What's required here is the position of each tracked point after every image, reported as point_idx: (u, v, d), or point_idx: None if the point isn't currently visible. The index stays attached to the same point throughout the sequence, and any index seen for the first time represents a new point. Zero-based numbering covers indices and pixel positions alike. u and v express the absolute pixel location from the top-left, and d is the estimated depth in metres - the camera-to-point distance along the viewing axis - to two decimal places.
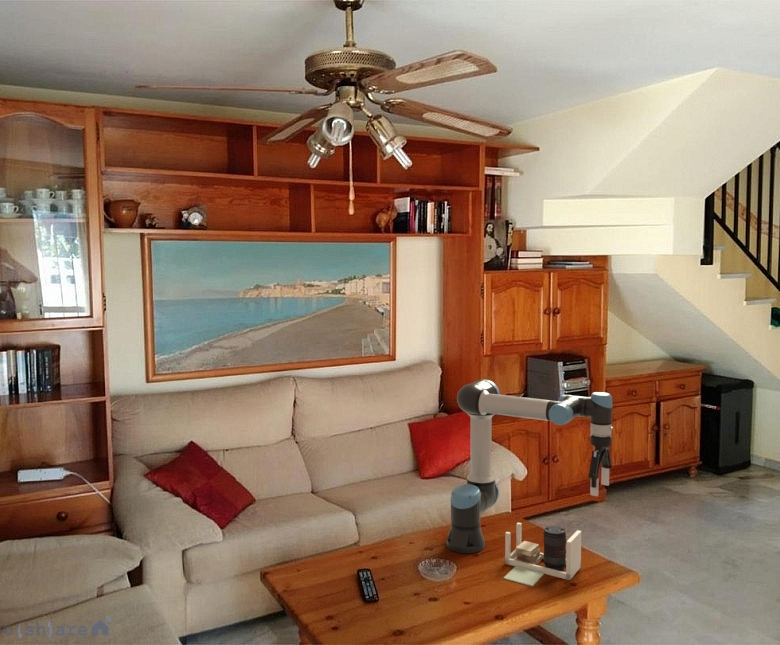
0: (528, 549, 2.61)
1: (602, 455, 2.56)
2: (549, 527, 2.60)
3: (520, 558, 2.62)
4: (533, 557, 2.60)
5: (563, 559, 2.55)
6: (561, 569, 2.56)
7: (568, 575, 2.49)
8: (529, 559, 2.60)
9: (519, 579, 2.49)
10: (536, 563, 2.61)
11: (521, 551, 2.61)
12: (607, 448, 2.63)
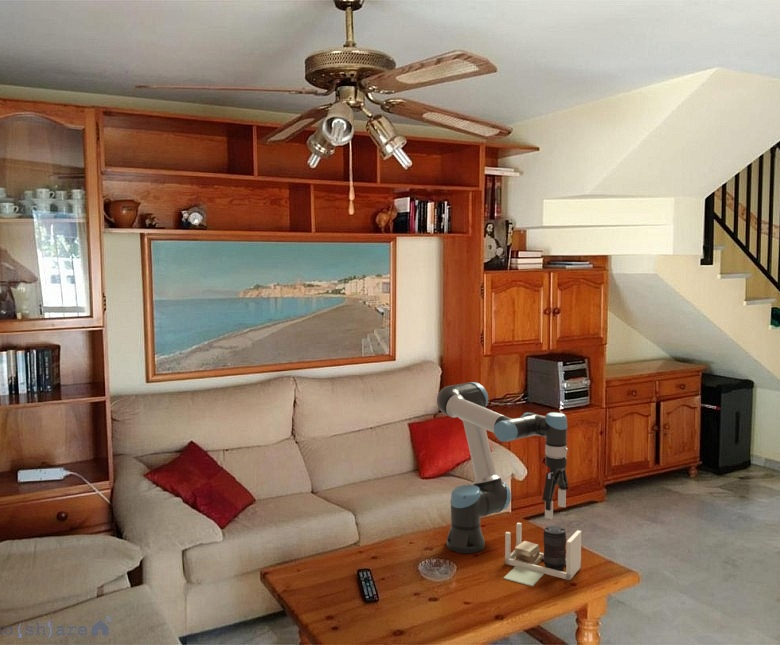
0: (527, 549, 2.61)
1: (557, 477, 2.52)
2: (549, 527, 2.60)
3: (519, 558, 2.62)
4: (532, 557, 2.59)
5: (563, 559, 2.55)
6: (561, 569, 2.56)
7: (568, 575, 2.49)
8: (528, 559, 2.60)
9: (519, 579, 2.49)
10: (536, 563, 2.61)
11: (520, 551, 2.61)
12: (563, 469, 2.59)
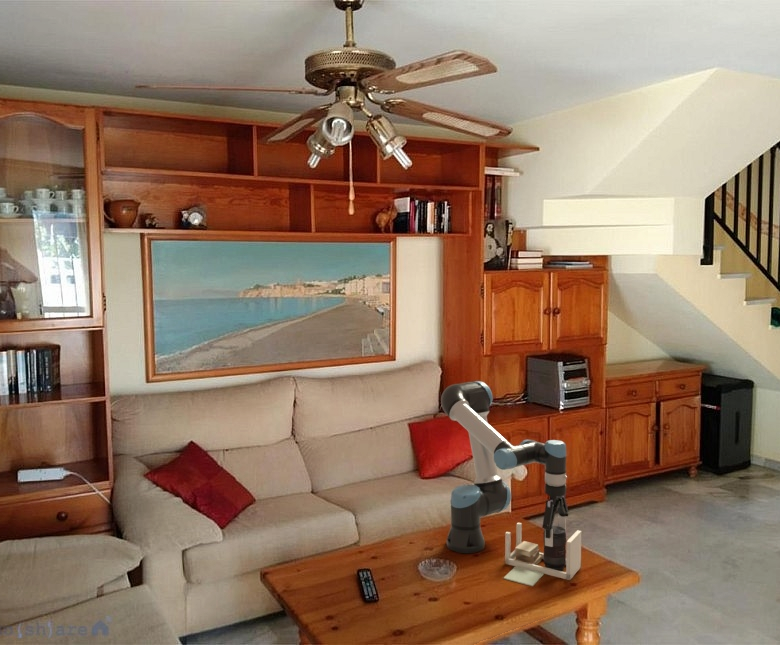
0: (527, 549, 2.61)
1: (556, 505, 2.53)
2: None
3: (519, 558, 2.62)
4: (532, 557, 2.60)
5: (563, 559, 2.55)
6: (561, 569, 2.56)
7: (568, 575, 2.49)
8: (528, 559, 2.60)
9: (519, 579, 2.49)
10: (536, 563, 2.61)
11: (520, 551, 2.61)
12: (563, 496, 2.60)
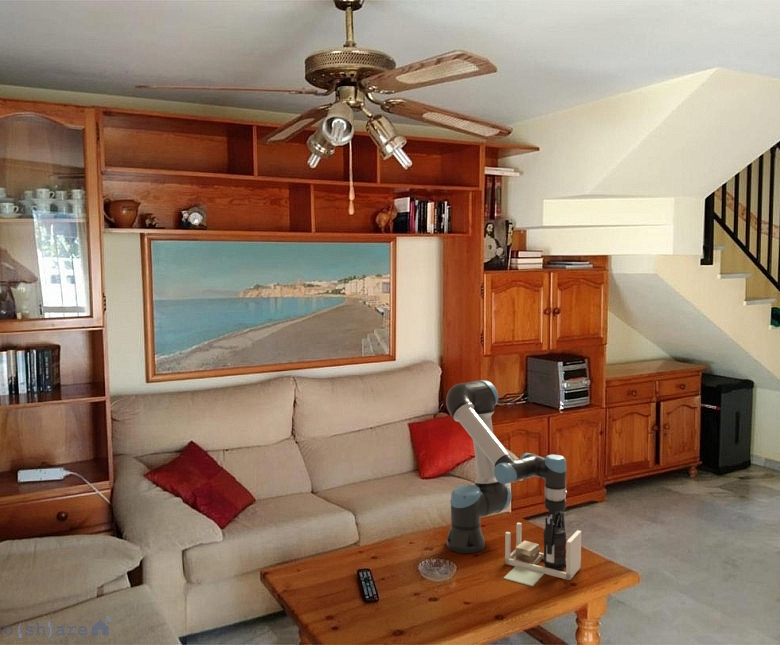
0: (528, 548, 2.61)
1: (556, 520, 2.54)
2: None
3: (519, 558, 2.62)
4: (532, 557, 2.60)
5: (563, 559, 2.55)
6: (561, 569, 2.56)
7: (568, 575, 2.49)
8: (528, 559, 2.60)
9: (519, 579, 2.49)
10: (536, 563, 2.61)
11: (521, 551, 2.61)
12: (562, 512, 2.60)
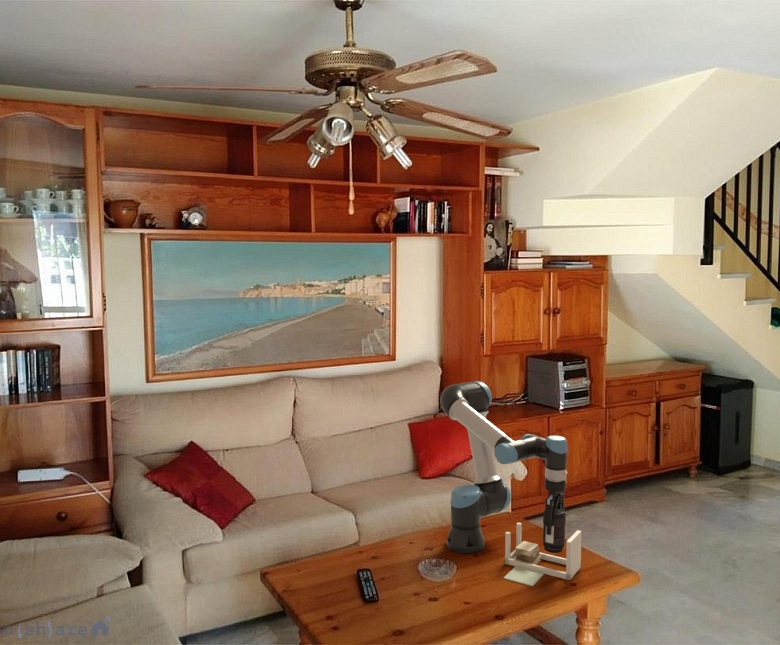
0: (528, 549, 2.61)
1: (556, 501, 2.53)
2: None
3: (519, 558, 2.62)
4: (532, 557, 2.60)
5: (562, 540, 2.55)
6: (560, 550, 2.55)
7: (568, 575, 2.49)
8: (528, 559, 2.60)
9: (519, 579, 2.49)
10: (536, 563, 2.61)
11: (521, 551, 2.61)
12: (562, 493, 2.59)
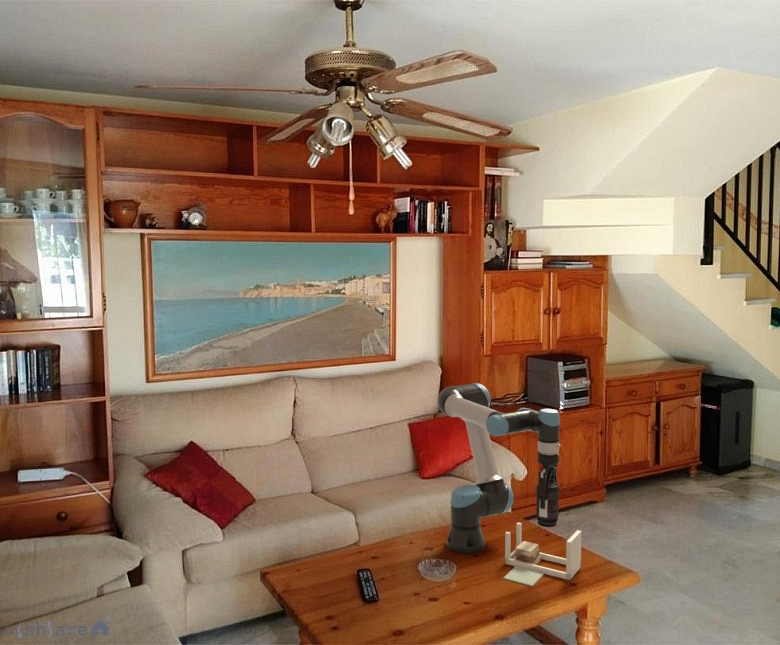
0: (528, 549, 2.61)
1: (549, 474, 2.51)
2: None
3: (519, 558, 2.62)
4: (532, 557, 2.59)
5: (556, 514, 2.52)
6: (554, 524, 2.53)
7: (568, 575, 2.49)
8: (528, 559, 2.60)
9: (519, 579, 2.49)
10: (536, 563, 2.61)
11: (521, 551, 2.61)
12: (555, 467, 2.57)
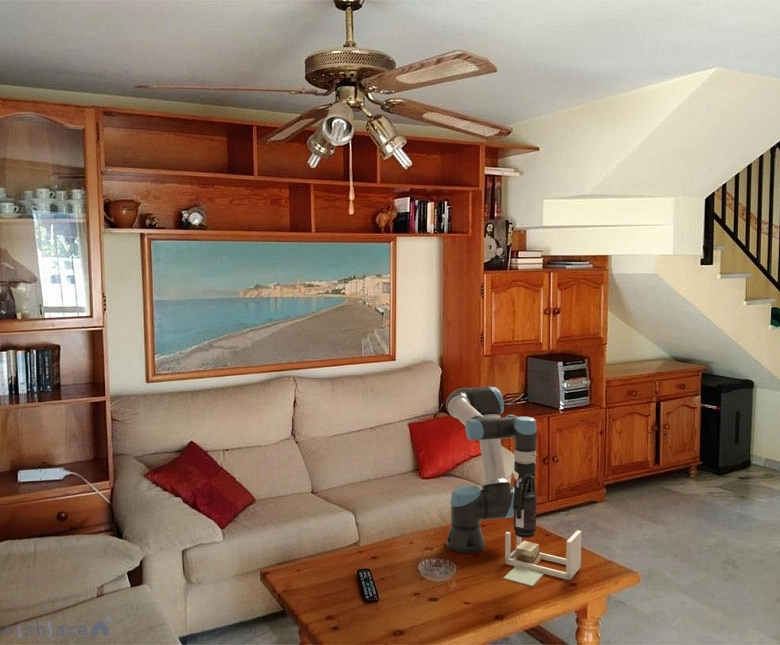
0: (528, 549, 2.61)
1: (526, 483, 2.46)
2: None
3: (519, 558, 2.62)
4: (532, 557, 2.60)
5: (533, 524, 2.47)
6: (531, 534, 2.48)
7: (568, 575, 2.49)
8: (528, 559, 2.60)
9: (519, 579, 2.49)
10: (536, 563, 2.61)
11: (521, 551, 2.61)
12: (532, 476, 2.52)
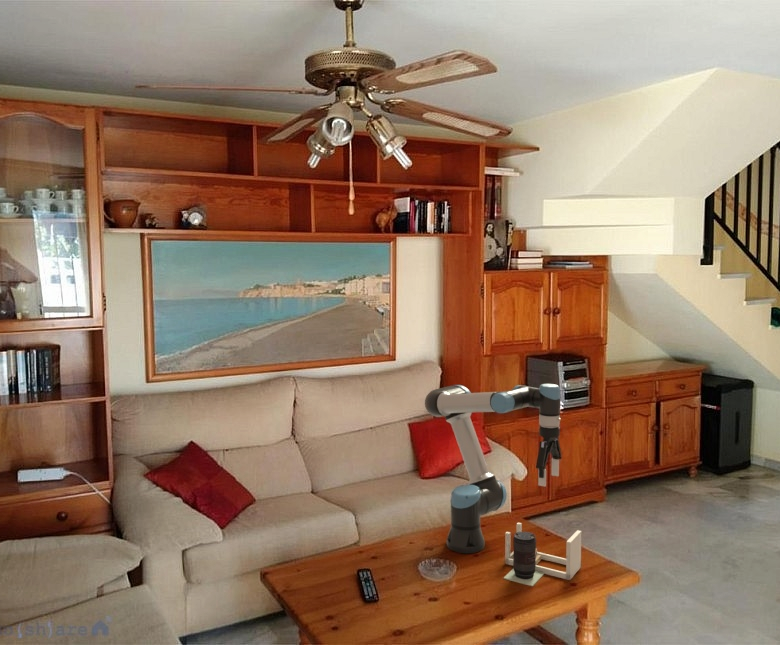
0: None
1: (550, 446, 2.59)
2: (519, 533, 2.54)
3: None
4: None
5: (532, 566, 2.49)
6: (531, 576, 2.50)
7: (568, 575, 2.49)
8: None
9: (519, 579, 2.49)
10: (536, 563, 2.61)
11: None
12: (556, 439, 2.66)
